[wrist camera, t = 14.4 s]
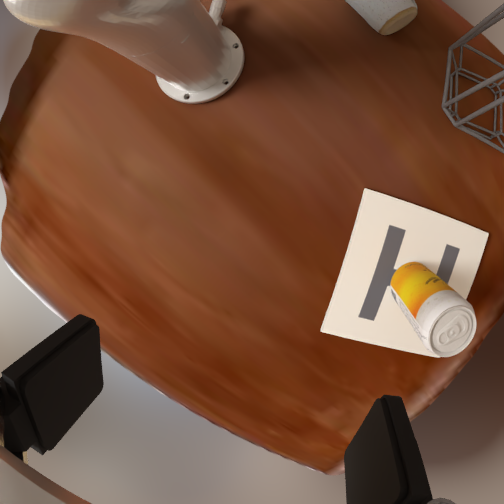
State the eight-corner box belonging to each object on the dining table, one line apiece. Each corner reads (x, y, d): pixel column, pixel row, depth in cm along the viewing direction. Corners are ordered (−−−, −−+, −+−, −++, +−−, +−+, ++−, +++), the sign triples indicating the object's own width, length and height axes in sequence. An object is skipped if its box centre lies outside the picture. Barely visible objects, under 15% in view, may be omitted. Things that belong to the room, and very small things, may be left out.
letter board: (364, 188, 37) (365, 188, 36) (486, 232, 35) (488, 233, 34) (320, 329, 42) (320, 331, 42) (437, 355, 40) (439, 357, 39)
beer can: (435, 287, 37) (485, 337, 23) (399, 311, 39) (436, 371, 25) (418, 251, 37) (470, 289, 22) (381, 276, 38) (416, 326, 24)
